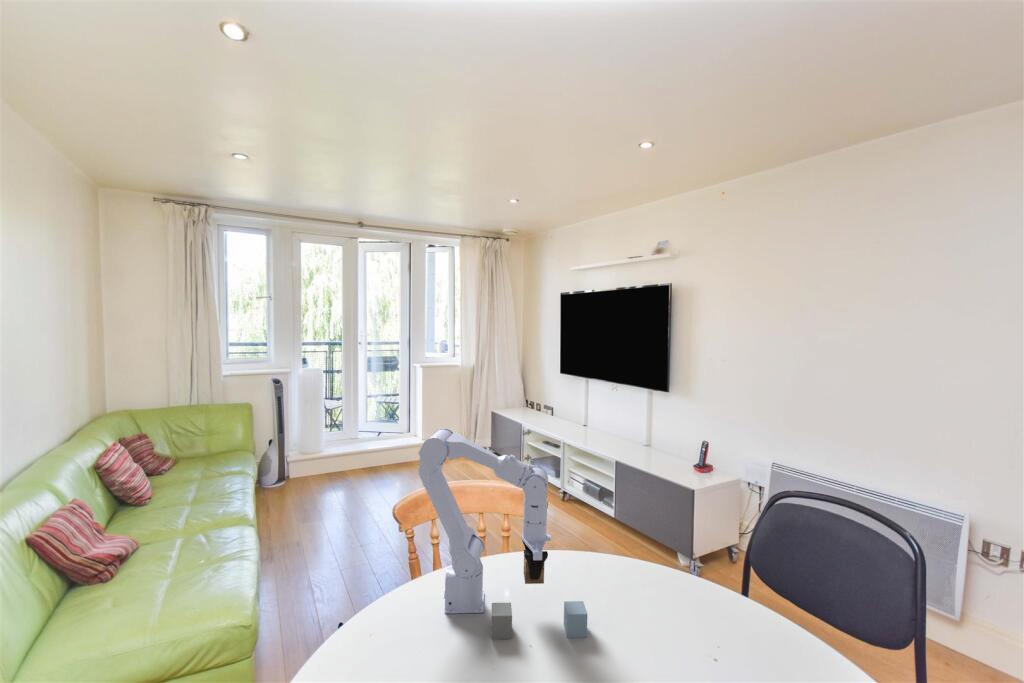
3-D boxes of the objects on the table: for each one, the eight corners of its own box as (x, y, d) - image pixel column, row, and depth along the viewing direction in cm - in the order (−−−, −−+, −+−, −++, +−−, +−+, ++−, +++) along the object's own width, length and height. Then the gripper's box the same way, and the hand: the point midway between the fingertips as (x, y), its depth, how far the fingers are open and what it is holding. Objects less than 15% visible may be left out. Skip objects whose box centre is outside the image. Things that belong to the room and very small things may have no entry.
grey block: (491, 639, 101) (491, 616, 100) (491, 625, 105) (491, 602, 105) (511, 639, 101) (512, 615, 100) (510, 624, 105) (511, 602, 105)
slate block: (567, 637, 102) (567, 614, 101) (563, 623, 106) (564, 601, 106) (586, 637, 102) (587, 614, 101) (582, 623, 106) (583, 601, 106)
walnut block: (525, 583, 108) (525, 561, 108) (523, 572, 112) (524, 551, 112) (543, 583, 108) (544, 561, 108) (541, 572, 113) (542, 551, 112)
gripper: (556, 533, 102) (554, 590, 103) (547, 505, 117) (545, 555, 118) (525, 533, 102) (523, 591, 103) (520, 505, 116) (518, 556, 117)
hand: (533, 572), depth 110 cm, fingers closed on walnut block, 4 cm apart
